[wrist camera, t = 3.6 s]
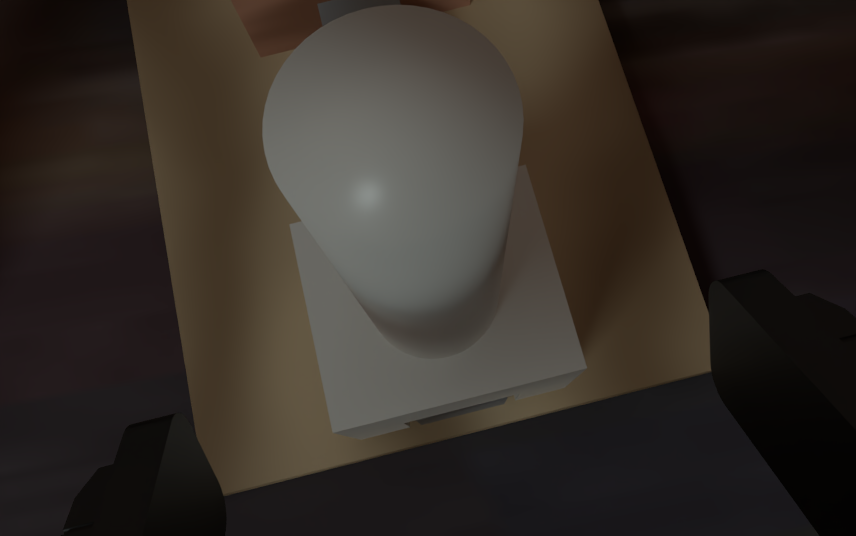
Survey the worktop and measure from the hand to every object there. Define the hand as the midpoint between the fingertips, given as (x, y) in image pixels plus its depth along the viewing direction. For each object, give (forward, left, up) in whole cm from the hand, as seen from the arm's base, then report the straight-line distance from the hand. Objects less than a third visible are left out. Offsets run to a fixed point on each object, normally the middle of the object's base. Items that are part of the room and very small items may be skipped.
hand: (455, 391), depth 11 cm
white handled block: (0, +3, -10) cm, 10 cm away
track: (0, +8, -11) cm, 14 cm away
